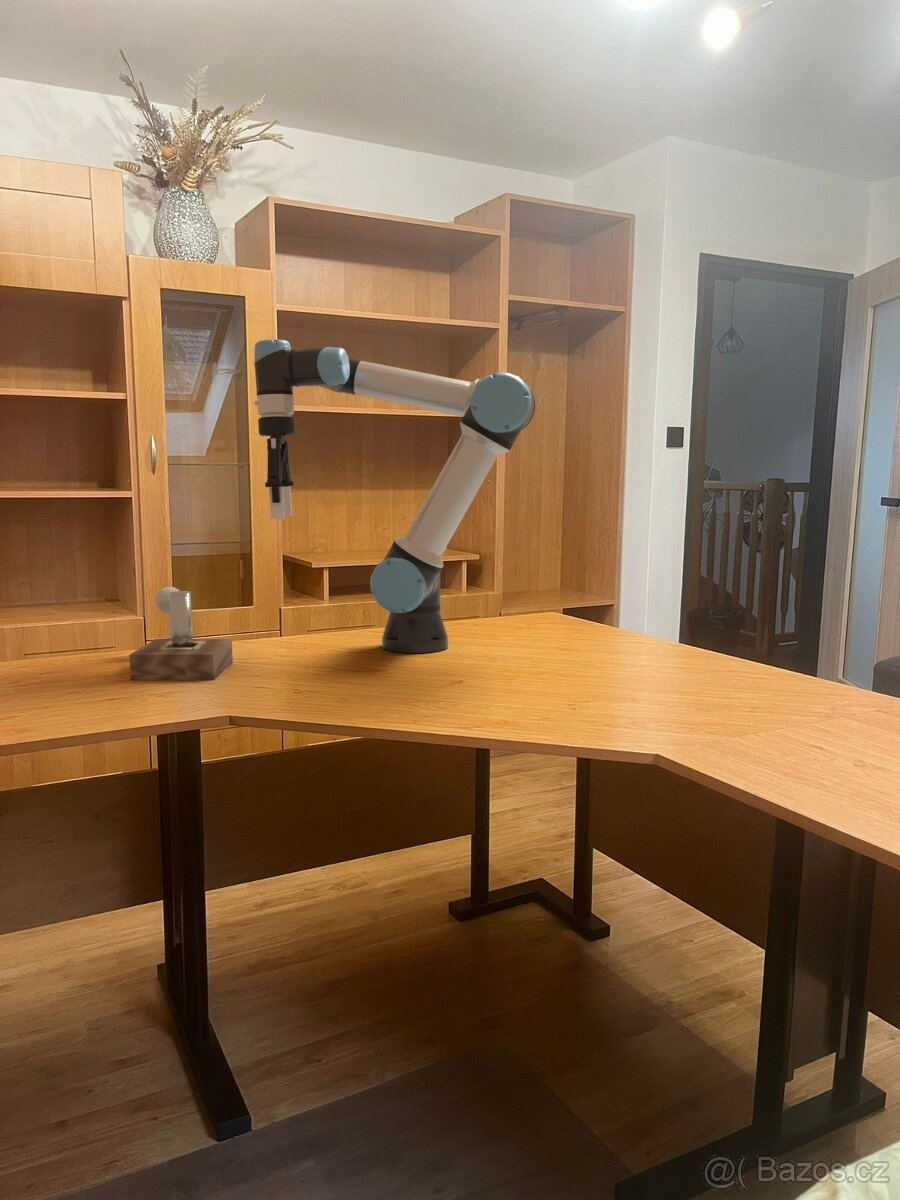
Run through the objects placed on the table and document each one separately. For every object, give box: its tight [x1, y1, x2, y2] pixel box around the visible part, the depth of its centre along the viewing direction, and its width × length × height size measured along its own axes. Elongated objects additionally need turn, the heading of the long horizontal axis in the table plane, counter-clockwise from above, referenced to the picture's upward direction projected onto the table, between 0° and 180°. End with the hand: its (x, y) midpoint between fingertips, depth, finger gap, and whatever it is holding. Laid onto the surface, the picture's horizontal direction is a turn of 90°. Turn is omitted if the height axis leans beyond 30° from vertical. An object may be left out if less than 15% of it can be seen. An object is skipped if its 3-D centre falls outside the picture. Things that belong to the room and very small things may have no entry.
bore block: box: [128, 638, 234, 681], centre depth 181 cm, size 16×16×5 cm
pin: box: [170, 590, 194, 648], centre depth 180 cm, size 4×4×15 cm
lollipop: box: [154, 586, 180, 639], centre depth 196 cm, size 6×6×15 cm
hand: (281, 517), depth 192 cm, fingers open, 13 cm apart
